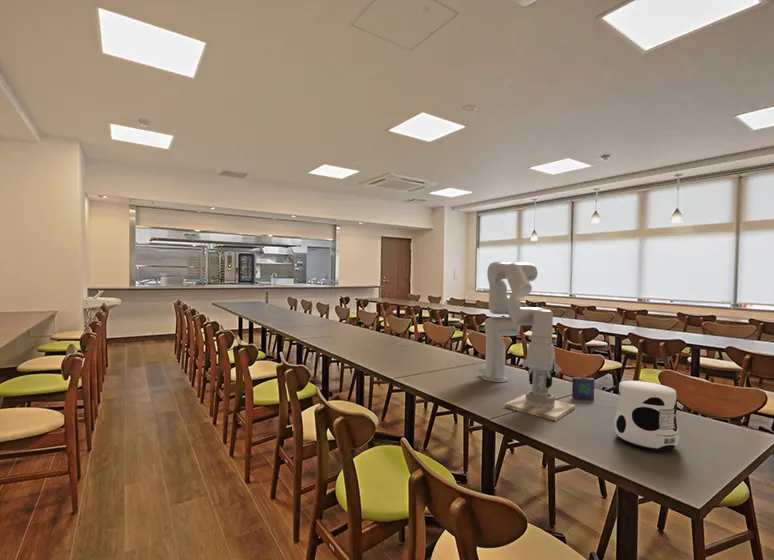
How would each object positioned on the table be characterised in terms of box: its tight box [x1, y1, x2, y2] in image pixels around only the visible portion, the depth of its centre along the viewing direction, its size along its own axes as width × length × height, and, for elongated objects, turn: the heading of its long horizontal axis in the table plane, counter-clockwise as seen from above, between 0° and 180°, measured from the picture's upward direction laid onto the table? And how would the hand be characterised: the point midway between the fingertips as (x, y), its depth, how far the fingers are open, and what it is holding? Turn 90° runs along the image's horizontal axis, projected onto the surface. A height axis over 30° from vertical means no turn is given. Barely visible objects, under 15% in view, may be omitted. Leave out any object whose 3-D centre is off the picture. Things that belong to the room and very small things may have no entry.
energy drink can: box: [531, 366, 549, 398], centre depth 156 cm, size 6×6×15 cm
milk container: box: [613, 380, 680, 452], centre depth 125 cm, size 17×17×18 cm
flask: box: [571, 373, 595, 400], centre depth 170 cm, size 9×3×11 cm, turn 87°
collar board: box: [504, 390, 576, 422], centre depth 156 cm, size 20×20×6 cm
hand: (540, 385), depth 156 cm, fingers closed on energy drink can, 5 cm apart
